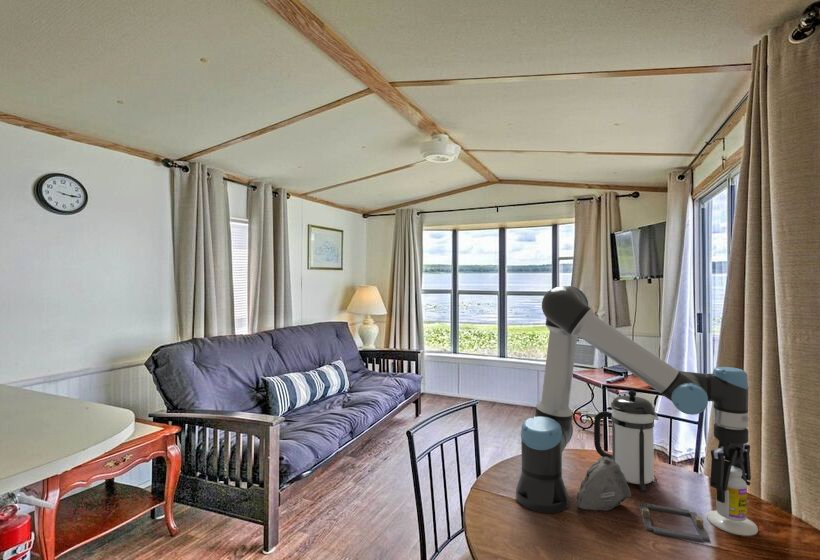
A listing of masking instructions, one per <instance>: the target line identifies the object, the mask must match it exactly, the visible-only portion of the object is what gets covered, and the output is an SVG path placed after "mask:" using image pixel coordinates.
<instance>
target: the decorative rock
mask: <svg viewBox="0 0 820 560" xmlns="http://www.w3.org/2000/svg"><path fill="white" fill-rule="evenodd" d="M631 496H632V493H631V489H630V487H629V485H628V482H626V479H625V476H624V474H623V473H622V472H621V469H620V466H619V465H618V464H617V463H616V462H615V461H614V460H613V459H612V458H609V457H602V456H601V457H599V458H598V459H597V461H596V462H595V463H593V464H592V465H590V467H589V468H588V470H587V471H586V476H585V478H584V480H582V481H581V482H580V487H579V490H578V492H577V493H576V507H577V508H580V509H584V510H593V511H604V512H605V511H609V510H613V509H614V508H615V507H618V506H620V505H621V503H622V502H624V501H625V500H626V499H628V498H629V499H630V497H631Z"/></svg>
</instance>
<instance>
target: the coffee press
mask: <svg viewBox="0 0 820 560" xmlns="http://www.w3.org/2000/svg"><path fill="white" fill-rule="evenodd" d="M627 394H628V395H619V396H616V397H615V398H613V400H612V402H611V403H610V407H611V412H610V411H600V412H598V413H597V414H596V415H595V418H594V422H593V424H594V425H593V440H594V441H593V442H594V448H595V450H596V452H597V454H598V455H600V456H601V458H602V457H609V458H612V459H613V460H614V461H615V462H616V463H617V464H618V465H619V466H620V469H621V472H622V473H623V474H624V476H625V479H626V482H627V483H629V484H630V483H631V484H635V485H637V487H638V489H639V491H640V492H643V493H645V492H647V487H646V484H649V483H651V482H653V483H657V482H658V478H657V477H656V476H655V470H654V467H655V462H654V459H655V458H654V457H655V453H654V448H655V447H654V443H655V442H654V440H655V439H654V428H655V421H660V419H659V416H658V415H657V413H656V408H655V407H654V406H653V404H652V402H650V401H649V400H647V399H645V398H643V397H640V396H637V393H636V391H635V390H633V389H632V390H631V389H630V390H629V391H628V393H627ZM602 418H611V419H610V420H611V424H612V425H611V426H612V427H611V430H612V431H611V432H612V433H611V434H612V435H611V437H612V438H611V441H612V442H611V443H612V447H611V448H612V454H611V453H608V452H606V451H604V450H603V448H602V446H601V421H602Z"/></svg>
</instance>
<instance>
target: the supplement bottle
mask: <svg viewBox="0 0 820 560" xmlns="http://www.w3.org/2000/svg"><path fill="white" fill-rule="evenodd" d="M741 476H742V470H741V469H740V468H738V467H735V466H731V470H730V476H729V481H728V486H727V490H728V491H729V516H726V515H724V514H722V513H720V512H718V511H717V512H718V514H720V515H721V516H723V517H725V518H727V519H729V520H733V521H745V520H746V519H748V512H747V511H748V492H747V491H748V490H747V489H748V485H747V484H746V482H745V481H744V480H743V479H742V478H741ZM715 510H717V505H716V504H715Z"/></svg>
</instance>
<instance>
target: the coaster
mask: <svg viewBox="0 0 820 560" xmlns="http://www.w3.org/2000/svg"><path fill="white" fill-rule="evenodd" d="M706 520H707V521H708V522H709V524H711V525H712V526H713V527H715V528H717V529H719V530H721V531H724V532H726V533H728V534H732V535H736V536H743V537H753V536H755V535H757V534H758V532H759V529H758V526H757V525H756V523H754V521H752V520H750V519H749V518H747V519H746V520H745V521H733V520H729V519H727V518H725V517H723V516H721V515H720V514H718V512H717V510H716V509H715V510H710V511H708V512H707V513H706Z"/></svg>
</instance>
